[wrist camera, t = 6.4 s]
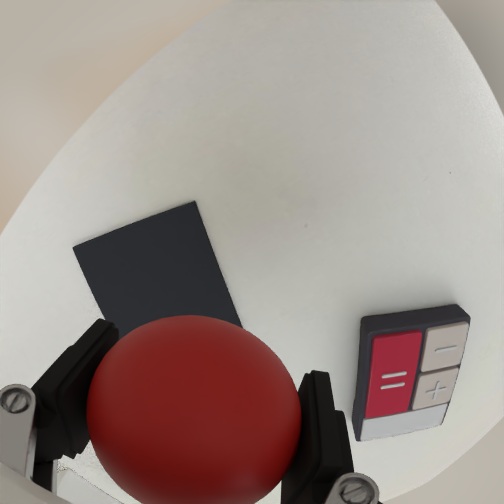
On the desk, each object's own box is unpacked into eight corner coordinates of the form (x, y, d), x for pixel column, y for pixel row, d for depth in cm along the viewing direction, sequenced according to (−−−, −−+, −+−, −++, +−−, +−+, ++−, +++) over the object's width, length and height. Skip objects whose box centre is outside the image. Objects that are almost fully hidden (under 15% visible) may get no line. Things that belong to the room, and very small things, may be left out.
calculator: (475, 318, 24) (444, 429, 28) (456, 300, 28) (433, 407, 32) (369, 335, 25) (356, 447, 29) (359, 313, 29) (351, 422, 33)
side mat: (74, 246, 29) (72, 247, 29) (195, 200, 27) (194, 201, 26) (153, 398, 35) (152, 400, 34) (265, 383, 32) (264, 385, 32)
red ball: (107, 303, 11) (4, 413, 5) (268, 257, 10) (250, 409, 4) (176, 421, 13) (134, 536, 7) (315, 399, 12) (325, 541, 6)
